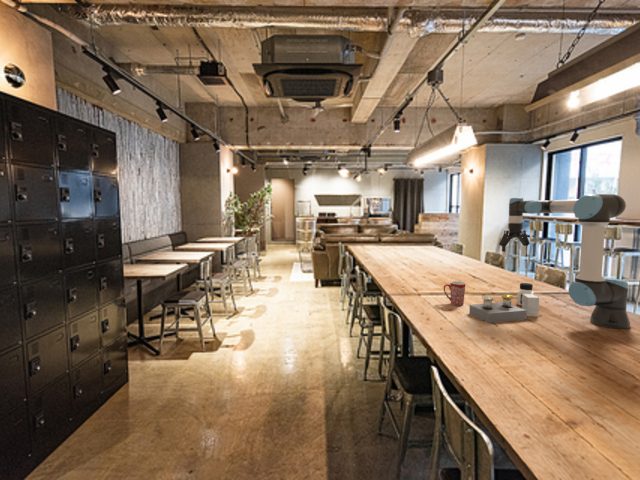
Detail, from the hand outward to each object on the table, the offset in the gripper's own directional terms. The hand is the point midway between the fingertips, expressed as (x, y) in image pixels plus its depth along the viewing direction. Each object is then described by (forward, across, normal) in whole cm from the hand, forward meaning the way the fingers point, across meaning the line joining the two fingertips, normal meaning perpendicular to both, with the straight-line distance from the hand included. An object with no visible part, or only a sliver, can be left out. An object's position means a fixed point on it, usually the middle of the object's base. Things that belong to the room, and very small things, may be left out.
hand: (513, 256), depth 211 cm
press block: (+28, +32, +26) cm, 50 cm away
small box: (+28, +12, +27) cm, 41 cm away
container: (+28, 0, +10) cm, 30 cm away
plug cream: (+24, +38, +26) cm, 52 cm away
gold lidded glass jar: (+24, +27, +26) cm, 44 cm away
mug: (+28, +41, -1) cm, 49 cm away
